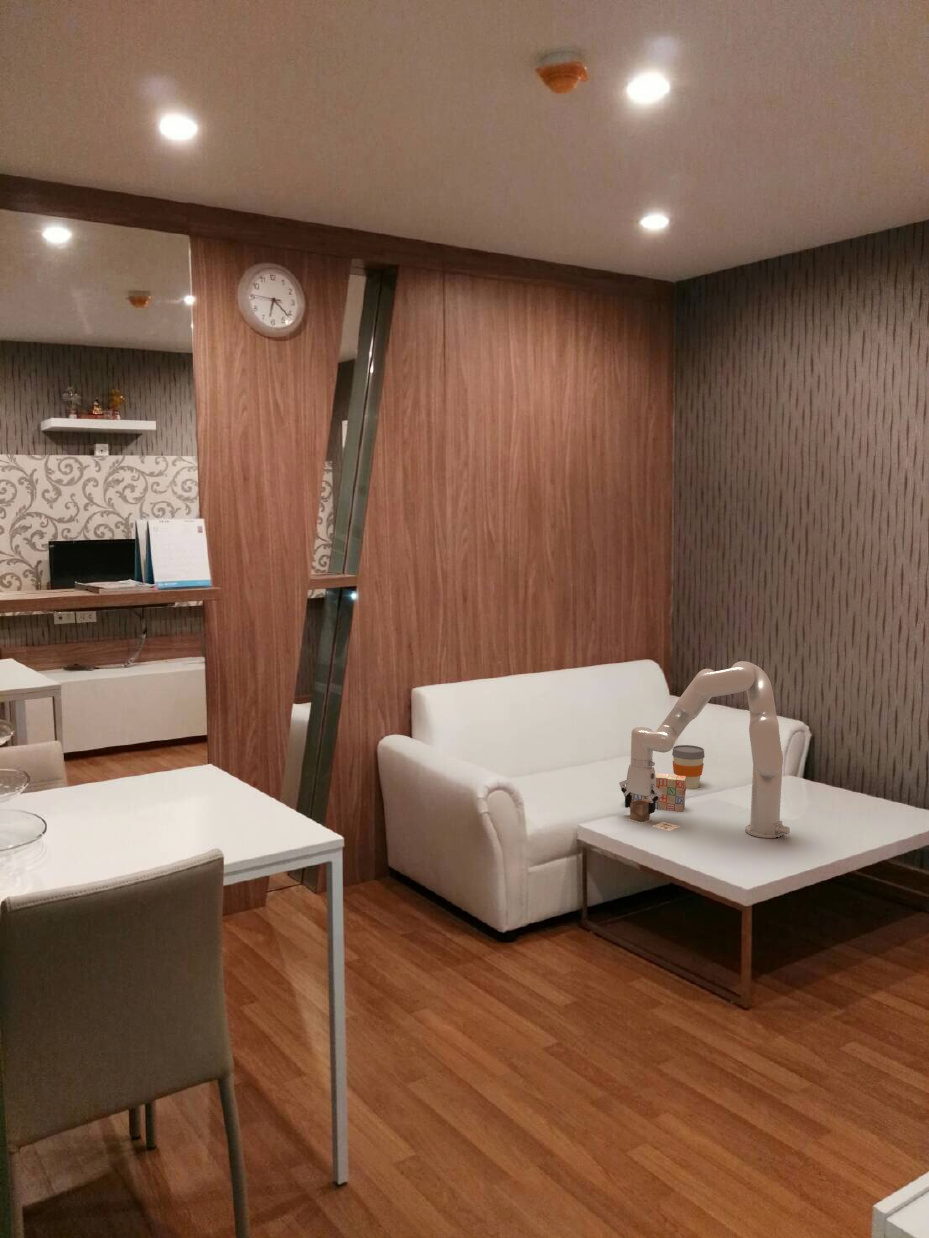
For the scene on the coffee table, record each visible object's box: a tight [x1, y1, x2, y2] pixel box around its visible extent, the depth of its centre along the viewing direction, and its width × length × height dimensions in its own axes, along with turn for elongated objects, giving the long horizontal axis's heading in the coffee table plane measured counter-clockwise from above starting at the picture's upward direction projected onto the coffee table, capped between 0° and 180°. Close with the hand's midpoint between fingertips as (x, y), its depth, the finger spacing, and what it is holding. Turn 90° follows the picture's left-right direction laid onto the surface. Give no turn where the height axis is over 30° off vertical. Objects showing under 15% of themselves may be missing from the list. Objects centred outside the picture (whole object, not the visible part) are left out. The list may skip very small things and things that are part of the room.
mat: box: [626, 817, 681, 832], centre depth 354 cm, size 21×16×1 cm
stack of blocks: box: [630, 772, 687, 813], centre depth 372 cm, size 21×6×12 cm, turn 72°
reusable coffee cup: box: [671, 744, 705, 790], centre depth 400 cm, size 12×12×15 cm
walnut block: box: [629, 800, 651, 823], centre depth 357 cm, size 5×5×6 cm
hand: (639, 809), depth 357 cm, fingers open, 9 cm apart
